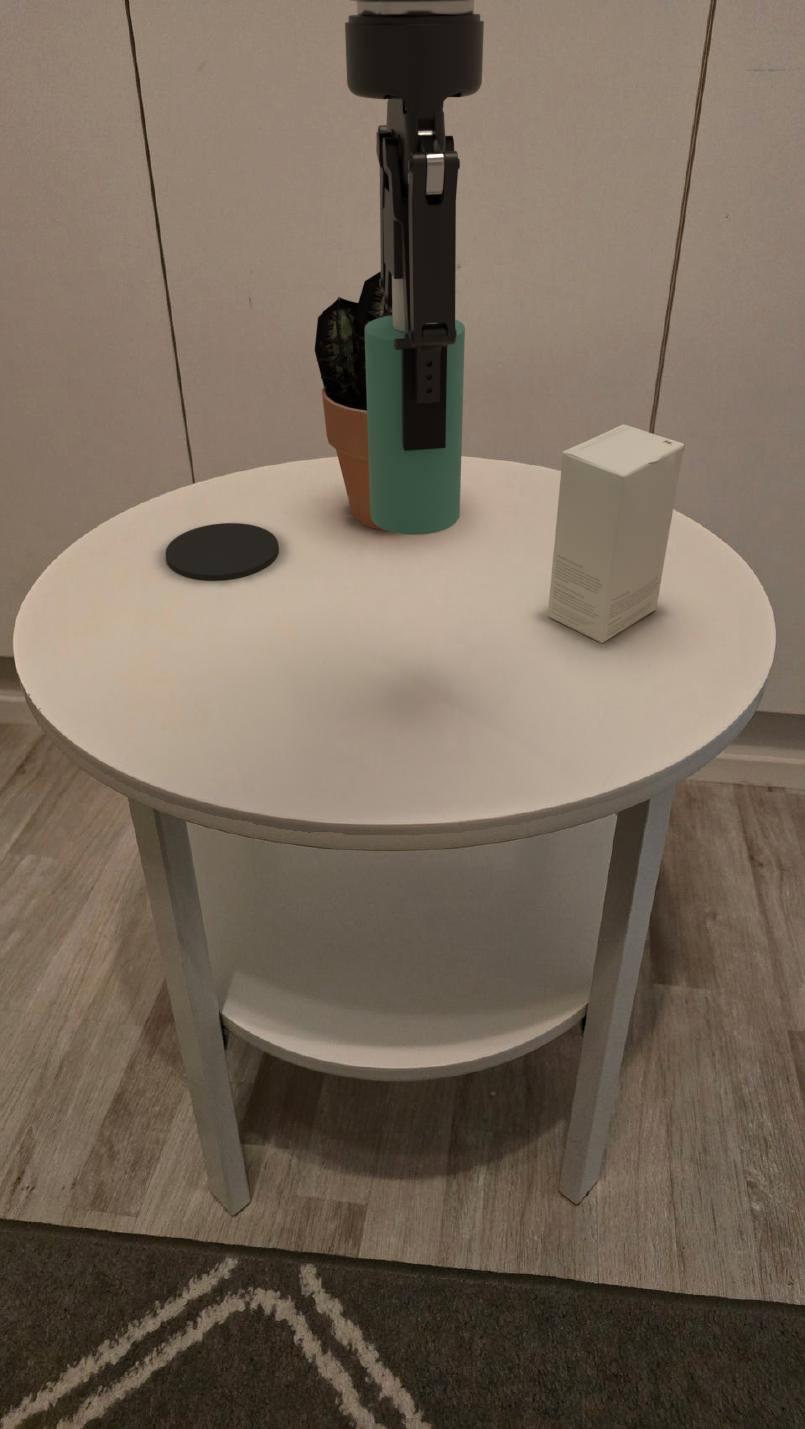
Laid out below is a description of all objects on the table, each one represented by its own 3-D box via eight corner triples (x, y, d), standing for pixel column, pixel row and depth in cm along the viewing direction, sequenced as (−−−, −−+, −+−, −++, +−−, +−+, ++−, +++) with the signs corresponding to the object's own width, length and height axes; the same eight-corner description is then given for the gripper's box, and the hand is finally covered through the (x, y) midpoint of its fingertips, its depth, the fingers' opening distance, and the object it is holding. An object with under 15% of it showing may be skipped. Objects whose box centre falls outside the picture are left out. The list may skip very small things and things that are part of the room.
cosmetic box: (603, 585, 91) (623, 421, 82) (662, 612, 87) (691, 442, 78) (543, 618, 87) (558, 447, 77) (603, 647, 83) (626, 472, 73)
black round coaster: (164, 585, 92) (163, 579, 92) (167, 532, 101) (166, 527, 100) (282, 574, 93) (281, 569, 93) (275, 524, 102) (274, 518, 102)
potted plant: (432, 478, 111) (434, 237, 96) (477, 530, 100) (487, 267, 85) (315, 496, 108) (298, 248, 93) (348, 550, 97) (335, 281, 82)
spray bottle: (365, 499, 73) (354, 183, 60) (450, 493, 73) (457, 179, 61) (378, 545, 67) (369, 204, 54) (471, 537, 67) (483, 200, 55)
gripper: (327, 6, 60) (344, 384, 74) (367, 14, 45) (379, 490, 58) (448, 4, 61) (443, 378, 75) (528, 12, 46) (502, 481, 59)
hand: (415, 427), depth 67 cm, fingers closed on spray bottle, 6 cm apart
